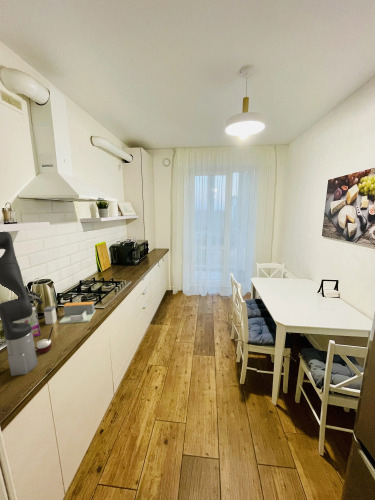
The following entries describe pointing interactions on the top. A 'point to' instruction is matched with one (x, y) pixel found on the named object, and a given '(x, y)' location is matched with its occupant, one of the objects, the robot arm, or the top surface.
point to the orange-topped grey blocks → (78, 312)
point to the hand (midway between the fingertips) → (38, 306)
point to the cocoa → (44, 344)
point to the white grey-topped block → (50, 315)
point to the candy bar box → (32, 322)
